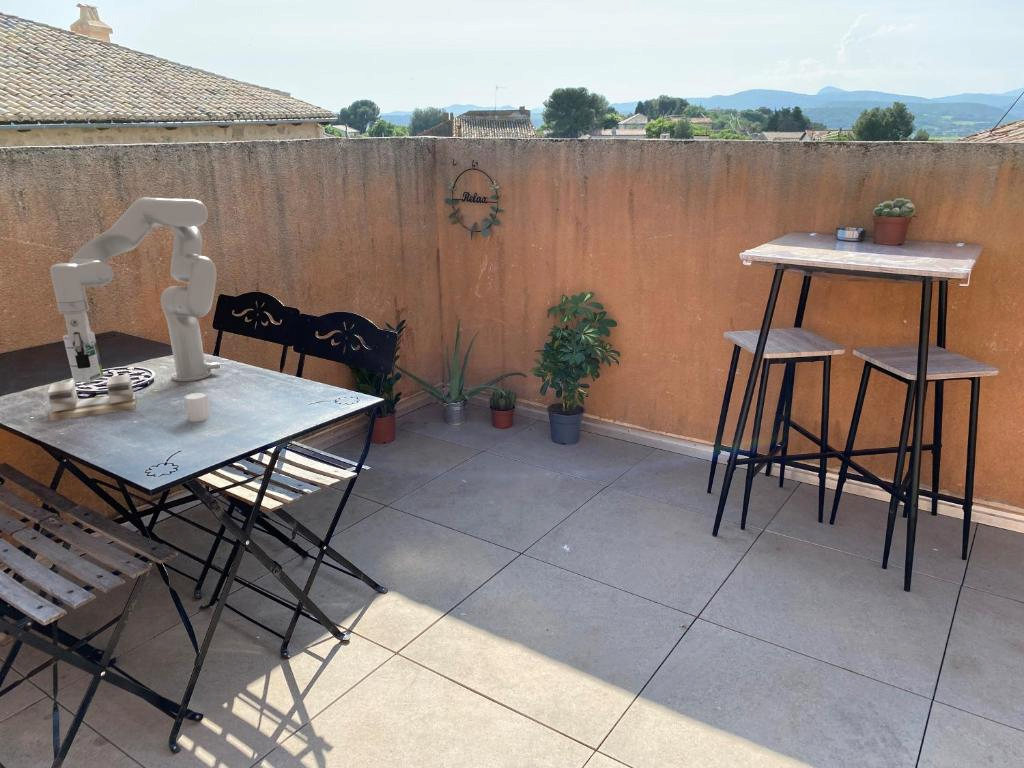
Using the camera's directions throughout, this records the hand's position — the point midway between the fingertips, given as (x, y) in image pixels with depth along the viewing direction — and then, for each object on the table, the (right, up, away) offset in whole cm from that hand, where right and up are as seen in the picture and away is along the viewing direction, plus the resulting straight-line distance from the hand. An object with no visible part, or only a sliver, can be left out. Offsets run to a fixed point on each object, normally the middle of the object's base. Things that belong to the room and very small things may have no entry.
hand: (85, 363), depth 203 cm
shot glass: (+35, -16, -3) cm, 39 cm away
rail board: (0, -14, +5) cm, 14 cm away
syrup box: (0, -5, +2) cm, 5 cm away
